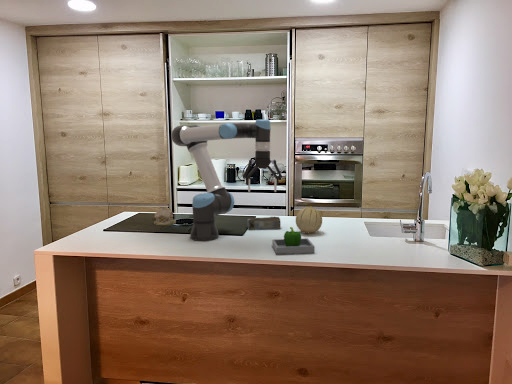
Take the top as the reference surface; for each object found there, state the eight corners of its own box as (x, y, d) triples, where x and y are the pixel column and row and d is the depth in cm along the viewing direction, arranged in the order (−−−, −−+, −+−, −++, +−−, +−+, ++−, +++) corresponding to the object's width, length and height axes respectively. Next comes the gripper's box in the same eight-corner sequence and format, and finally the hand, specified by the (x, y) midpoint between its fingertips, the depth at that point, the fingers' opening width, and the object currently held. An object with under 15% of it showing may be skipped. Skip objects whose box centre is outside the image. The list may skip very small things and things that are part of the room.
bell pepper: (300, 251, 194) (300, 230, 192) (283, 250, 195) (283, 229, 193) (301, 245, 202) (301, 226, 200) (284, 245, 203) (284, 225, 202)
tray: (276, 254, 191) (276, 247, 190) (272, 246, 204) (272, 239, 204) (314, 253, 192) (314, 246, 192) (307, 245, 206) (307, 238, 206)
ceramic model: (150, 225, 252) (149, 209, 251) (158, 221, 263) (157, 205, 262) (172, 225, 250) (171, 209, 248) (178, 221, 261) (178, 206, 259)
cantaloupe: (295, 236, 224) (295, 209, 221) (296, 229, 238) (296, 204, 236) (322, 236, 222) (322, 209, 219) (321, 230, 236) (322, 204, 234)
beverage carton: (247, 227, 245) (247, 216, 244) (279, 226, 246) (279, 215, 245) (248, 230, 237) (248, 219, 236) (281, 229, 238) (281, 218, 237)
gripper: (238, 150, 204) (238, 192, 207) (288, 150, 206) (287, 192, 210) (237, 149, 211) (237, 190, 215) (285, 149, 213) (284, 190, 217)
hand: (262, 191), depth 212 cm, fingers open, 13 cm apart
